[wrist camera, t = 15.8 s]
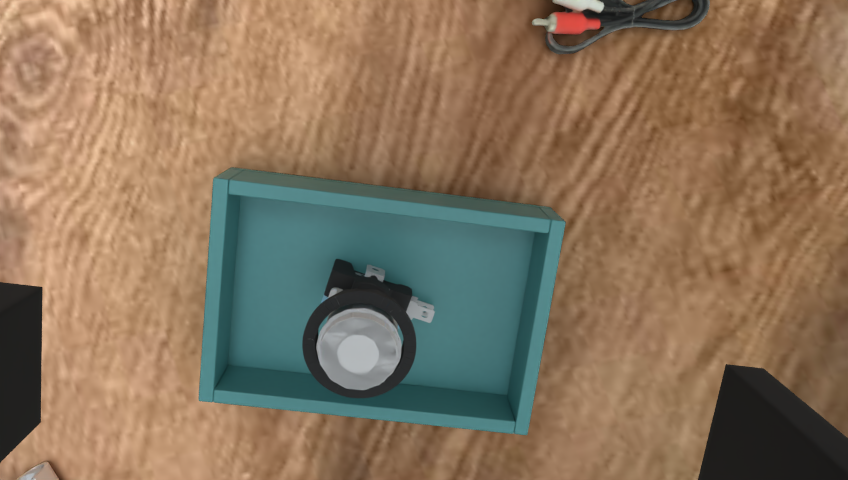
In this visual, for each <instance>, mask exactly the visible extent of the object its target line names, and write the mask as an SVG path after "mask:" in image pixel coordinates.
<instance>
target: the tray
mask: <svg viewBox="0 0 848 480" xmlns="http://www.w3.org/2000/svg"><path fill="white" fill-rule="evenodd" d="M565 223H566V222H565V221H564V220H563V219H562V218H561V217H560V216H559V215H558V214H557V213H556V212H555V211H553V210H552V208H550V207H545V206H537V205H529V204H521V203H513V202H505V201H497V200H489V199H482V198H474V197H466V196H458V195H450V194H442V193H434V192H426V191H418V190H410V189H402V188H394V187H386V186H378V185H370V184H362V183H354V182H346V181H338V180H330V179H322V178H314V177H306V176H298V175H290V174H282V173H274V172H266V171H258V170H250V169H242V168H234V167H231V168H229V169H228V170H226V171H224V172H223V173H221V174H219V175H218V176H216V177H214V179H213V191H212V206H211V221H210V236H209V251H208V266H207V281H206V296H205V311H204V326H203V341H202V356H201V371H200V386H199V401H205V402H215V403H224V404H234V405H243V406H253V407H262V408H272V409H282V410H291V411H301V412H310V413H320V414H329V415H339V416H348V417H358V418H367V419H377V420H387V421H396V422H406V423H415V424H425V425H434V426H444V427H453V428H463V429H472V430H482V431H492V432H501V433H511V434H513V433H514V434H520V435H527V434H528V428H529V423H530V417H531V412H532V406H533V401H534V395H535V390H536V384H537V379H538V373H539V367H540V362H541V356H542V351H543V345H544V340H545V334H546V329H547V323H548V317H549V312H550V306H551V301H552V295H553V290H554V284H555V279H556V273H557V268H558V262H559V256H560V251H561V245H562V240H563V234H564V229H565ZM335 259H341V260H344V261H347V262H350V263H351V264H352V266H353V268H354V270H355V271H358V272H361V273H364V274H365V273H366V268H367V265H372V266H375V267H378V268H381V269H383V270H385V277H384V280H385V281H388V282H391V283H394V284H402V285H405V286H408V287H410V288H411V289H412V296H415V297H418V299H417V300H419V301H422V302H425V303H428V304H431V305H433V306H434V309H433V310H434V311H435V313H434V316H433V319H432V321H431V322H430V323H428V322H425V321H422V320H419V319H416V318H413V319H412V320H411V321H412V324H413V326H414V330H415V334H416V355H415V359H414V362H413V365H412V367H411V369H410V371H409V373H408V374H407V375H406V377H405V378H404V379H403V380H402V381H401V382H400V383H399V384H398V385H397V386H396V387H394V388H393V389H391V390H390V391H388V392H386V393H384V394H381V395H378V396H375V397H371V398H349V397H344V396H341V395H338V394H336V393H333V392H332V391H330V390H328V389H327V388H325V387H324V386H322V385H321V384H320V383H319V382H318V381H317V380H316V379H315V378H314V376H313V375H312V374H311V372H310V371H309V369H308V367H307V365H306V362H305V360H304V356H303V349H302V340H303V334H304V330H305V327H306V324H307V322H308V320H309V318H310V316H311V314H312V313H313V312H314V310H315V309H316V308H317V307H318V306H319V305H320V304H321V301H322V298H323V295H324V292H325V289H326V286H327V283H328V280H329V277H330V274H331V271H332V268H333V265H334V262H335ZM373 270H376V269H373ZM376 271H378V270H376ZM423 307H426V306H423ZM426 308H427V307H426ZM423 312H426V311H423ZM422 317H424V318H425V316H422ZM327 319H328V316H327V317H326V318H325V319H324V320H323V322H322V323H321V325H320V326H319V329H318V337H319V333H320V331H321V329H322V327H323V326H324V325H325V324H326V322H327ZM398 334H399V337H400V339H401V347H402V344H403V335H402V332H401V329H398Z"/></svg>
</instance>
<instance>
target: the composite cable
mask: <svg viewBox="0 0 848 480" xmlns="http://www.w3.org/2000/svg"><path fill="white" fill-rule="evenodd" d="M673 1H676V0H646V1H644V2H642V3H639V4H636V5H633V6H632V5H629V4H626V3H625V2H624V1H623V0H552V2H553V3H556V4H559V5H562V6H563V7H564V8H565V10H566V11H565V12H554V13H552V14H550V15H549V16H548V17H547V18H545V19H540V18H538V19H534V20H533V21H532V24H533V25H540V26H545V29H546V31H547V33H546V37H545V41H546V44H547V46H548V47H549V49H550V50H551V51H552V52H554V53H556V54H571V53H575V52H578V51H580V50H581V49H584V48H585V47H587V46H588V45H590V44H592V43H593V42H595V41H596V40H598V39H600V38H601V37H603V36H605V35H607V34H609V33H611V32H614V31H616V30H620V29H624V28H630V27H643V28H653V29H663V30H683V29H688V28H691V27H693V26H695V25H697V24H699V23H700V22H701V21H702V20H703V18H704V17H705V16H706V15H707V13H708V10H709V4H710V1H709V0H692V1H693V3H694V8H693V11H692V12H691V14H690V15H689V16H687V17H685V18H683V19H681V20H675V21H669V20H658V19H647V18H642V17H641V16H642V15H643V14H644V13H646V12H649V11H652V10H655V9H657V8H659V7H662V6H664V5H666V4H668V3H671V2H673ZM602 26H603V27H604V29H603V30H602V31H600V32H599V33H598V34H596V35H595V36H593V37H591V38H590V39H587V40H585V41H584V42H582V43H580V44H578V45H575V46H563V45H560V44H558V43H557V42H556V41H555V40H554V39H553V36H552V33H553V34H580V33H582V32H583V31H585V30H597V29H599V28H600V27H602Z"/></svg>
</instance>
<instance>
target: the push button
mask: <svg viewBox="0 0 848 480" xmlns="http://www.w3.org/2000/svg"><path fill="white" fill-rule="evenodd" d="M373 269H376V270H378V271H376V270H373ZM384 277H385V270H383V269H381V268H378V267H375V266H372V265H367V268H366V273H365V274H364V273H361V272H358V271H355V270H354V268H353V266H352V264H351V263H350V262H347V261H344V260H341V259H335V262H334V265H333V268H332V271H331V274H330V277H329V280H328V283H327V286H326V289H325V292H324V295H323V298H322V301H321V304H320V305H319V306H318V307H317V308H316V309H315V310H314V312H313V313H312V314H311V316H310V318H309V320H308V322H307V324H306V327H305V330H304V334H303V340H302V349H303V356H304V360H305V362H306V365H307V367H308V369H309V371H310V372H311V374H312V375H313V376H314V378H315V379H316V380H317V381H318V382H319V383H320V384H321V385H322V386H324V387H325V388H327V389H328V390H330V391H332V392H333V393H336V394H338V395H341V396H344V397H349V398H371V397H375V396H378V395H381V394H384V393H386V392H388V391H390V390H391V389H393V388H394V387H396V386H397V385H398V384H399V383H400V382H401V381H402V380H403V379H404V378H405V377H406V375H407V374H408V373H409V371H410V369H411V367H412V365H413V362H414V359H415V355H416V334H415V330H414V326H413V324H412V321H411V320H412V319H413V318H416V319H419V320H422V321H425V322H428V323H430V322H431V321H432V319H433V316H434V313H435V311H434V310H433V309H434V306H433V305H431V304H428V303H425V302H422V301H419V300H417V299H418V297H415V296H412V289H411V288H410V287H408V286H405V285H402V284H394V283H391V282H388V281H385V280H384ZM423 306H426V307H427V308H426V307H423ZM423 311H426V312H423ZM327 316H328V319H327V322H326V324H325V325H324V326H323V327H322V329H321V331H320V333H319V337H318V329H319V326H320V325H321V323H322V322H323V320H324V319H325V318H326V317H327ZM422 316H425V318H424V317H422ZM398 329H401V332H402V335H403V344H402V347H401V339H400V337H399V334H398Z"/></svg>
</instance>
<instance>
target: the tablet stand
mask: <svg viewBox="0 0 848 480" xmlns="http://www.w3.org/2000/svg"><path fill="white" fill-rule="evenodd" d="M17 480H59V478H58V477H57V475H56V474H55V472H54V471H53V469H52V468H51V466H50V464H49V463H48V462H44V463H41V464H39V465H37V466H35V467H33V468H31V469H30V470H28V471H27V472H25V473H24V474H23V475H22V476H20V477H19V478H18V479H17Z"/></svg>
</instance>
